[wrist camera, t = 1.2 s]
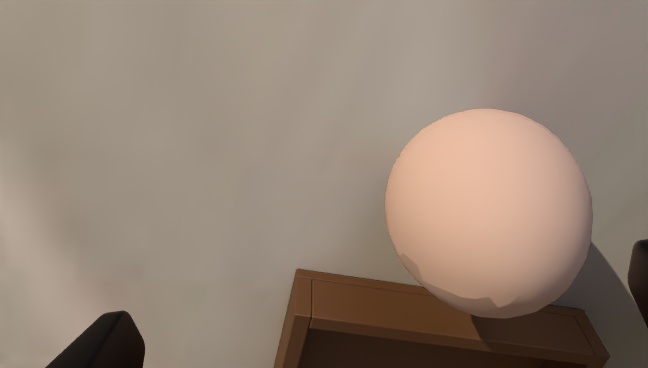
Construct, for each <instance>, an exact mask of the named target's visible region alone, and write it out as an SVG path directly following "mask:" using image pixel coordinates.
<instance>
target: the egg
mask: <svg viewBox="0 0 648 368" xmlns="http://www.w3.org/2000/svg"><path fill="white" fill-rule="evenodd" d="M385 210H386V220H387V225H388V230H389V233H390V236H391V239H392V242H393V244H394V247H395V250H396V253H397V254H398V256H399V258H400V260H401V261H402V263H403V265H404V267H405V268H406V269H407V271H408V272H409V273H410V274H411V275H412V276H413V277H414V278H415V279H416V280H417V282H418V283H419V284H421V285H422V286H423V287H424V288H426V289H427V290H428V291H429V292H430V293H432V294H433V295H434V296H435V297H437V298H438V299H439V300H441V301H443V302H445V303H447V304H449V305H450V306H452V307H454V308H456V309H458V310H461V311H464V312H467V313H470V314H472V315H475V316H479V317H488V318H512V317H516V316H521V315H525V314H530V313H534V312H536V311H538V310H540V309H541V308H543V307H545V306H547V305H548V304H550V303H552V302H553V301H555V300H556V299H557V298H559V297H560V296H561V295H562V294H563V293H564V292H565V291H567V290H568V289H569V287H570V286H571V284H572V282H573V281H574V279H575V278H576V276H577V274H578V273H579V271H580V269H581V268H582V266H583V264H584V263H585V261H586V257H587V253H588V250H589V246H590V242H591V234H592V222H593V212H592V197H591V194H590V191H589V188H588V185H587V182H586V179H585V176H584V174H583V172H582V170H581V169H580V167H579V165H578V164H577V162H576V160H575V158H574V157H573V156H572V154H571V153H570V152H569V151H568V149H567V148H566V147H565V146H564V144H563V143H562V142H561V141H560V140H559V139H558V138H557V137H556V136H555V135H554V134H553V133H552V132H550V131H549V130H548V129H547V128H546V127H544V126H542V125H540V124H538V123H537V122H535V121H533V120H531V119H529V118H527V117H525V116H522V115H520V114H517V113H512V112H507V111H502V110H497V109H474V110H468V111H462V112H459V113H455V114H452V115H448V116H445V117H443V118H441V119H440V120H438V121H436V122H434V123H433V124H431V125H429V126H427V127H426V128H424V129H422V130H421V131H420V132H419V133H418V134H417V135H416V136H415V137H414V138H413V139H412V140H411V141H410V142H409V143H408V144H407V145H406V147H405V148H404V150H403V151H402V153H401V154H400V156H399V157H398V159H397V160H396V162H395V163H394V166H393V169H392V171H391V174H390V177H389V180H388V185H387V190H386V195H385Z"/></svg>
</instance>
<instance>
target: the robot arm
mask: <svg viewBox="0 0 648 368" xmlns="http://www.w3.org/2000/svg"><path fill="white" fill-rule="evenodd" d="M628 284H629V288H630V291H631V293H632V295H633V297H634V300H635V302H636V304H637V306H638V308H639V310H640V312H641V315H642V317H643V319H644V321H645V323H646V325H647V328H648V239H646V240H640V241H637V242H636V243H635V244H634V246H633V250H632V256H631V261H630V267H629V272H628ZM144 355H145V344H144V340H143V338H142V336H141V334H140V332H139V331H138V329H137V327H136V325H135V323H134V321H133V319H132V317H131V316H130V314H129V313H128V312H126V311H116V312H109V313H105V314H103V315H101V316H100V317H99V318H98V319H97V320H96V321H95V322H94V323H93V324H92V325H91V326H89V327H88V328H87V329H86V330H85V331H84V332H83V333H82V334H81V335H80V336H79V337H78V338H77V339H75V340H74V341H73V342H72V343H71V344H70V345H69V346H68V347H67V348H66V349H65V350H64V351H63V352H62V353H60V354H59V355H58V356H57V357H56V358H55V359H54V360H53V361H52V362H51V363H50V364H49V365H48V366H47V367H45V368H143V362H144Z"/></svg>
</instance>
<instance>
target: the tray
mask: <svg viewBox="0 0 648 368" xmlns="http://www.w3.org/2000/svg"><path fill="white" fill-rule="evenodd" d="M609 358H610V355H609V353H608V352H607V350H606V348H605V347H604V345H603V343H602V341H601V340H600V338H599V336H598V335H597V333H596V331H595V329H594V328H593V326H592V324H591V322H590V321H589V319H588V317H587V315H586V314H585V312H584V311H583V310H579V309H572V308H566V307H559V306H552V305H547V306H545V307H543V308H541V309H540V310H538V311H536V312H534V313H530V314H525V315H521V316H516V317H512V318H488V317H479V316H475V315H472V314H470V313H467V312H464V311H461V310H458V309H456V308H454V307H452V306H450V305H449V304H447V303H445V302H443V301H441V300H439V299H438V298H437V297H435V296H434V295H433V294H432V293H430V292H429V291H428V290H427V289H426V288H424V287H420V286H413V285H406V284H399V283H392V282H386V281H379V280H372V279H365V278H358V277H351V276H344V275H337V274H330V273H323V272H316V271H309V270H302V269H297V270H296V273H295V278H294V282H293V286H292V290H291V295H290V299H289V303H288V308H287V312H286V316H285V321H284V325H283V329H282V334H281V338H280V342H279V346H278V351H277V355H276V359H275V364H274V368H602V367H603V366H604V365H605V363H606V362H607V361H608V359H609Z"/></svg>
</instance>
